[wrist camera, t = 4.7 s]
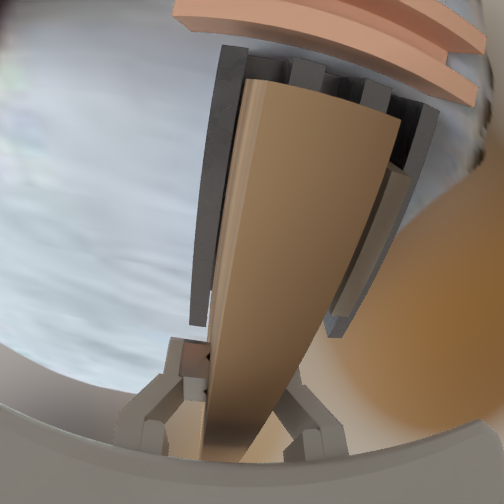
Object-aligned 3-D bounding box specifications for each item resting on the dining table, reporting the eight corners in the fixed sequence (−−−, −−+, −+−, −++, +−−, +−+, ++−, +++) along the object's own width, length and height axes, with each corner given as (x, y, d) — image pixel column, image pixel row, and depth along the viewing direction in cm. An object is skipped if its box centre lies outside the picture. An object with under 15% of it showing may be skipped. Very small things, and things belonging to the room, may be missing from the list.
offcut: (314, 263, 28) (330, 315, 22) (353, 143, 21) (392, 171, 15) (329, 265, 28) (348, 316, 22) (370, 148, 21) (412, 177, 16)
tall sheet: (211, 295, 26) (198, 477, 13) (245, 78, 16) (267, 81, 3) (229, 297, 26) (226, 479, 13) (270, 82, 16) (401, 119, 3)
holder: (191, 31, 17) (171, 15, 12) (207, -35, 13) (195, -68, 8) (428, 95, 20) (473, 107, 14) (441, 36, 16) (486, 36, 11)
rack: (195, 278, 30) (187, 324, 25) (225, 53, 18) (218, 44, 13) (329, 294, 32) (343, 338, 27) (399, 99, 20) (441, 112, 15)
